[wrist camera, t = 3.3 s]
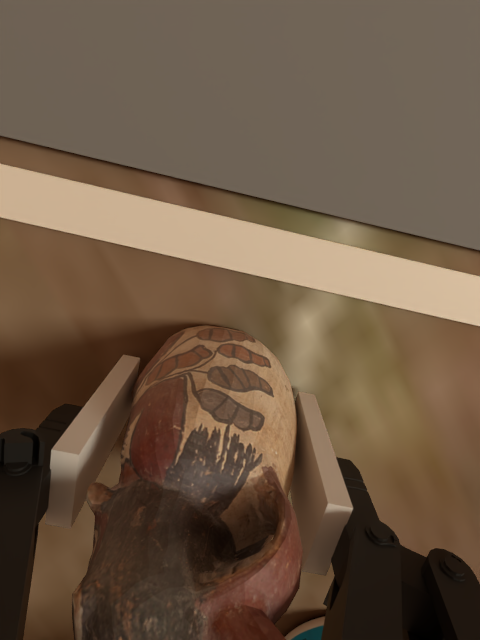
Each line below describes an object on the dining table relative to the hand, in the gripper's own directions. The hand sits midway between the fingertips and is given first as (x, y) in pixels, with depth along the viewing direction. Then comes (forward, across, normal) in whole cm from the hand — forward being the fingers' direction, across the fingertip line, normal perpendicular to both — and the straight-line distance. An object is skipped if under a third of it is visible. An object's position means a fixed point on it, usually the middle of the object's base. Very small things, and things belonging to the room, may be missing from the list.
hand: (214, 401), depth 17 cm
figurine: (+1, 0, 0) cm, 1 cm away
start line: (+1, 0, -7) cm, 7 cm away
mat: (+1, 0, -14) cm, 14 cm away
